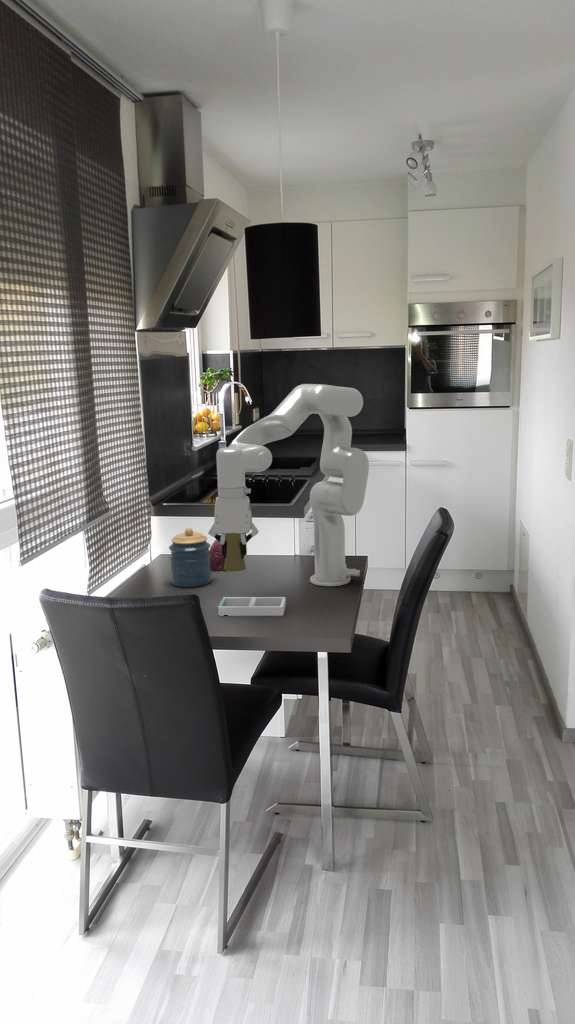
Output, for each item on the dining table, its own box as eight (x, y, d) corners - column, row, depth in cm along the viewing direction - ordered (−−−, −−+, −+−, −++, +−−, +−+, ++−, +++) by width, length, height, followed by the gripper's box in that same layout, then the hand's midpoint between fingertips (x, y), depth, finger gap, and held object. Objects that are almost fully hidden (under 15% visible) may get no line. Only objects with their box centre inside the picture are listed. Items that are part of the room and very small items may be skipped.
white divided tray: (285, 605, 236) (285, 596, 236) (283, 615, 227) (282, 607, 227) (223, 605, 238) (223, 597, 237) (218, 615, 229) (218, 607, 228)
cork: (242, 571, 226) (241, 532, 225) (221, 571, 228) (219, 531, 226) (248, 566, 232) (246, 528, 231) (227, 566, 234) (225, 527, 232)
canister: (192, 574, 271) (189, 521, 268) (220, 580, 263) (218, 526, 260) (162, 583, 262) (159, 529, 258) (191, 590, 253) (187, 534, 250)
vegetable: (241, 574, 281) (251, 533, 277) (223, 578, 272) (234, 535, 268) (217, 563, 286) (227, 523, 282) (198, 567, 277) (209, 525, 273)
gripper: (263, 490, 229) (265, 553, 233) (204, 490, 230) (207, 554, 234) (260, 494, 222) (262, 560, 225) (199, 495, 223) (202, 561, 227)
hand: (234, 556), depth 230 cm, fingers closed on cork, 4 cm apart
